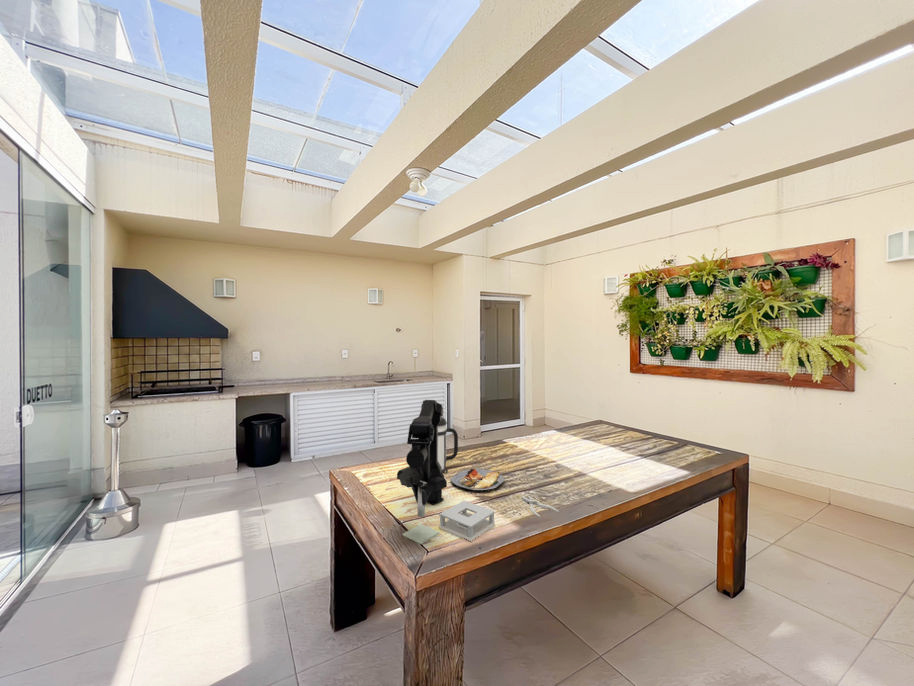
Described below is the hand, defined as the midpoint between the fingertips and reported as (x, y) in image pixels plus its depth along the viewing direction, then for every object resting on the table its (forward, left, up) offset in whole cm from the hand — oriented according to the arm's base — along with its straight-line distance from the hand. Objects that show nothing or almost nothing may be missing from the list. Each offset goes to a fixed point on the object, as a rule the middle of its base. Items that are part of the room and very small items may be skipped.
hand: (421, 503), depth 125 cm
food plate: (-12, +50, -11) cm, 52 cm away
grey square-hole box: (+9, +14, -10) cm, 20 cm away
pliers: (+21, +44, -11) cm, 50 cm away
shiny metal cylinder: (0, 0, -4) cm, 4 cm away
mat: (0, 0, -10) cm, 10 cm away
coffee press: (-38, +49, -11) cm, 63 cm away
